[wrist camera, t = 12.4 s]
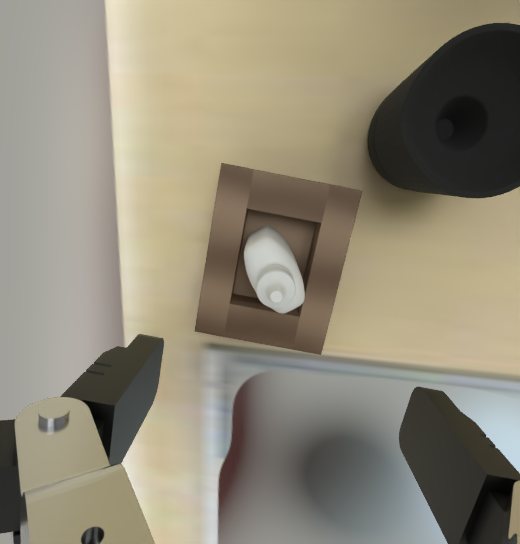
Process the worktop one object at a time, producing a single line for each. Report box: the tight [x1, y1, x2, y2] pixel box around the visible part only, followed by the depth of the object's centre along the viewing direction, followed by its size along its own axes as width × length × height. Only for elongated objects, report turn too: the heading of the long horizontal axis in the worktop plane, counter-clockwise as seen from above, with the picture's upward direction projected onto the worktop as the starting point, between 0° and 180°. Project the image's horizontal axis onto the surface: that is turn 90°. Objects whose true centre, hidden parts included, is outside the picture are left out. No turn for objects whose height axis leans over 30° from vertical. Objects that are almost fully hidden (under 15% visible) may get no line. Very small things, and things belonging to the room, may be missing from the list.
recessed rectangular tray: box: [195, 163, 362, 355], centre depth 31 cm, size 14×11×4 cm
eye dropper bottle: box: [244, 226, 305, 314], centre depth 26 cm, size 4×6×12 cm
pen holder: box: [368, 23, 520, 198], centre depth 26 cm, size 9×9×10 cm
